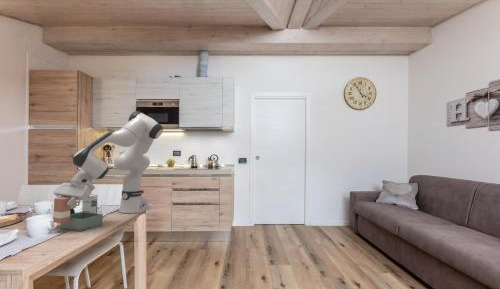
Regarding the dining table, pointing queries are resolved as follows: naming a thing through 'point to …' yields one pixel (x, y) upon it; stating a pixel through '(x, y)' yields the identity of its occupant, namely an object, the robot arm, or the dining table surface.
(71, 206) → the character mug
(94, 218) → the tray
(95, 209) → the syrup box
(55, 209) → the salmon pink two-tone box
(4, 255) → the dining table surface
